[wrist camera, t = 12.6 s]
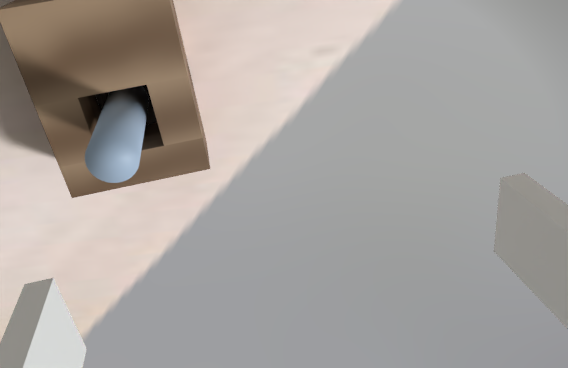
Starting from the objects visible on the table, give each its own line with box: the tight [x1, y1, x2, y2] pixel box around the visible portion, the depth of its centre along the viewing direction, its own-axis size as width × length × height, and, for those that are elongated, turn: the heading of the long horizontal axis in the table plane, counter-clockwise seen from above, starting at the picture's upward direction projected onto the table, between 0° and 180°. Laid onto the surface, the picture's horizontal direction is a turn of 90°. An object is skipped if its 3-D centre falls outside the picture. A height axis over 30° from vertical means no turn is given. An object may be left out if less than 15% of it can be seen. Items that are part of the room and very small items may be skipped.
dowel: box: [85, 86, 149, 183], centre depth 33 cm, size 3×3×11 cm
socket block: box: [0, 0, 210, 198], centre depth 35 cm, size 13×10×5 cm
